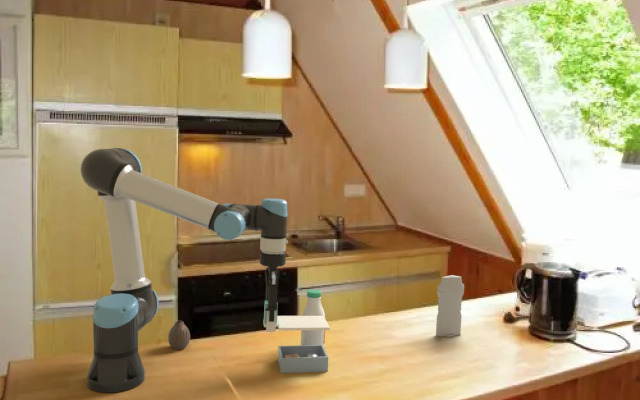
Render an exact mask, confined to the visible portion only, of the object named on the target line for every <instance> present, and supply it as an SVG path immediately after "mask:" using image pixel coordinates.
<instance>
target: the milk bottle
mask: <svg viewBox="0 0 640 400" xmlns="http://www.w3.org/2000/svg"><path fill="white" fill-rule="evenodd" d="M306 298H307V300H306V301H307V302H306V305H305V307H304V309H302V314H301V316H324V317H325V318H326V314H325V310H324V308H323V305H322V302H321V299H322V291H321V290H318V289H309V290H307V291H306ZM325 334H326V330H300V335H301V336H300V345H323V346H324V347H325V345H326V343H325V342H326V341H325V340H326V335H325Z"/></svg>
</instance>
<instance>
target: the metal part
mask: <svg viewBox="0 0 640 400" xmlns="http://www.w3.org/2000/svg"><path fill="white" fill-rule="evenodd" d="M307 357H318V355H317V354H316V353H308V354H307Z"/></svg>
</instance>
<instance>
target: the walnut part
mask: <svg viewBox="0 0 640 400" xmlns="http://www.w3.org/2000/svg"><path fill="white" fill-rule="evenodd" d="M291 357H300V356H299V355H298V354H290V355H284V358H291Z"/></svg>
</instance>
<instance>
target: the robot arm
mask: <svg viewBox="0 0 640 400" xmlns="http://www.w3.org/2000/svg"><path fill="white" fill-rule="evenodd" d="M80 175H81V178H82V180H83V182H84V183H85V184H86V185H87V186H88V187H89V188H91V189H92V190H94V191H96V192H97V198H99V199H101V200H102V201H103V202H104V210H105V215H106V216H105V217H106V224H107V231H108V237H109V245H110V253H111V259H112V268H113V274H114V282H113V284H112V285H111V286H110V293H111V294H109V295H108V296H107V295H105V296H103V297H101V298H99V299H98V300H97V301H96V302H95V303H94V305H93V311H92V317H91V318H92V329H93V330H92V331H93V332H92V333H93V334H92V335H93V339H92V340H93V358H92V360H91V364H90V366H89V371H88V373H87V376H86V377H87V379H86V380H87V381H86V383H87V384H86V385H87V387H88V388H89V389H90V390H92V391H94V392H99V393H119V392H125V391H128V390H132V389H134V388H136V387H138V386H140V385H141V384H142V383H144V381H145V378H146V376H145V374H146V372H145V371H146V370H145V367H144V365H143V361H142V359H141V356H140V353H139V332H140V331H141V330H142V329H143V328H144V327H145V326H147V325H148V324H149V323H150V322H151V321H152V320H153V319H154V318H155V315H156V314H157V313H158V310H159V303H160V302H159V301H160V299H159V297H158V295H157V292H156V291H155V290H154V289H153V287H152V281H151V279H149V278H148V277H147V276H146V273H145V267H144V258H143V257H144V256H143V250H142V244H141V234H140V227H139V218H138V212H137V205H136V202H137V203H140V204H142V205H145V206H146V207H147V206H148V207H149V208H153V209H155V210H157V211H160V212H163V213H165V214H168V215H171V216H173V217H175V218H178V219H181V220H184V221H186V222H188V223H191V224H193V225H197V226H199V227H202V228H203V229H207V230H210V231H211V232H214V233H215V234H216V235H217V236H218V237H219V238H220V239H223V240H225V241H230V240H231V241H232V240H235V239H237V238H239V237H241V236H242V234H243V233H244V232H245V231H255V232H256V231H257V232H260V239H259V240H260V245H259V249H260V253H259V264H260V265H261V266H263V267H266V268H265V270H264V271H265V272H264V274H265V275H264V276H265V284H266V285H265V300H268V308H265V307H264V308H265V311H267V321H266V327H265V331H266V333H275V332H276V329H277V327H276V310H277V303H278V292H279V291H278V290H279V289H278V288H279V280H280V279H279V278H280V270H279V269H278V267H283V266H285V265H286V260H287V259H286V258H287V256H286V255H287V253H286V252H285V251H286V250H287V244H289V240H288V239H287V236H288V235H287V234H288V233H287V231H288V230H287V229H288V202H287V200H285V199H283V198H269V197H267V198H264V199H262V201H261V204H245V203H243V204H242V203H223V204H221V203H218V202H216V201H213V200H211V199H208V198H206V197H203V196H201V195H197V194H195V193H193V192H190V191H187V190H184V189H182V188H180V187H177V186H176V185H175V186H174V185H172V184H169V183H168V182H166V181H165V182H164V181H161V180H159V179H157V178H154V177H152V176H149V175H146V174H144V173H143V165H142V163H141V160H140V159H139V157H138V156H137V155H136V154H135V153H134V152H132V151H131V150H129V149H127V148H126V149H125V148H121V147H113V148H99V149H95V150H92V151H90V152H89V153H87V155H86V156H84V158H83V159H82V162H81V164H80ZM277 311H278V310H277Z"/></svg>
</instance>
